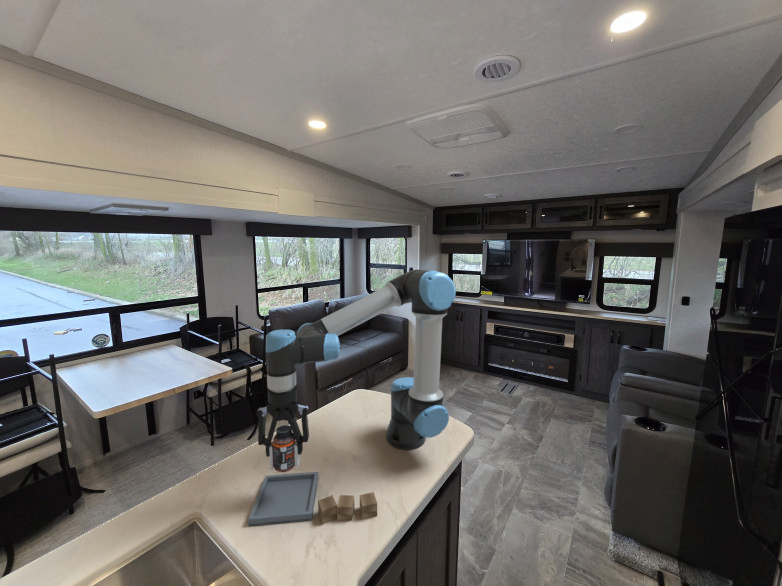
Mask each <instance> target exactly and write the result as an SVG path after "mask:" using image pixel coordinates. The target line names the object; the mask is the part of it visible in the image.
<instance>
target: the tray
mask: <svg viewBox="0 0 782 586" xmlns="http://www.w3.org/2000/svg"><path fill="white" fill-rule="evenodd" d="M319 479H320V477H319V471H312V472H311V471H310V472H297V473H296V472H295V473H284V474H283V473H282V474H271V475H265V476H264V478H263V481H262V484H261V486H260V489H259V491H258V494H257V496H256V498H255V501H254V503H253V507H252V508H251V511H250V514H249V517H248V519H247V523H248V527H255V526H256V527H257V526H258V527H259V526H267V525H277V524H288V523H297V522H309V521H312V520H313V515H314V510H315V509H314V508H315V502H316V501H315V500H316V496H317V490H318V484H319V483H318V482H319Z"/></svg>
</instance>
